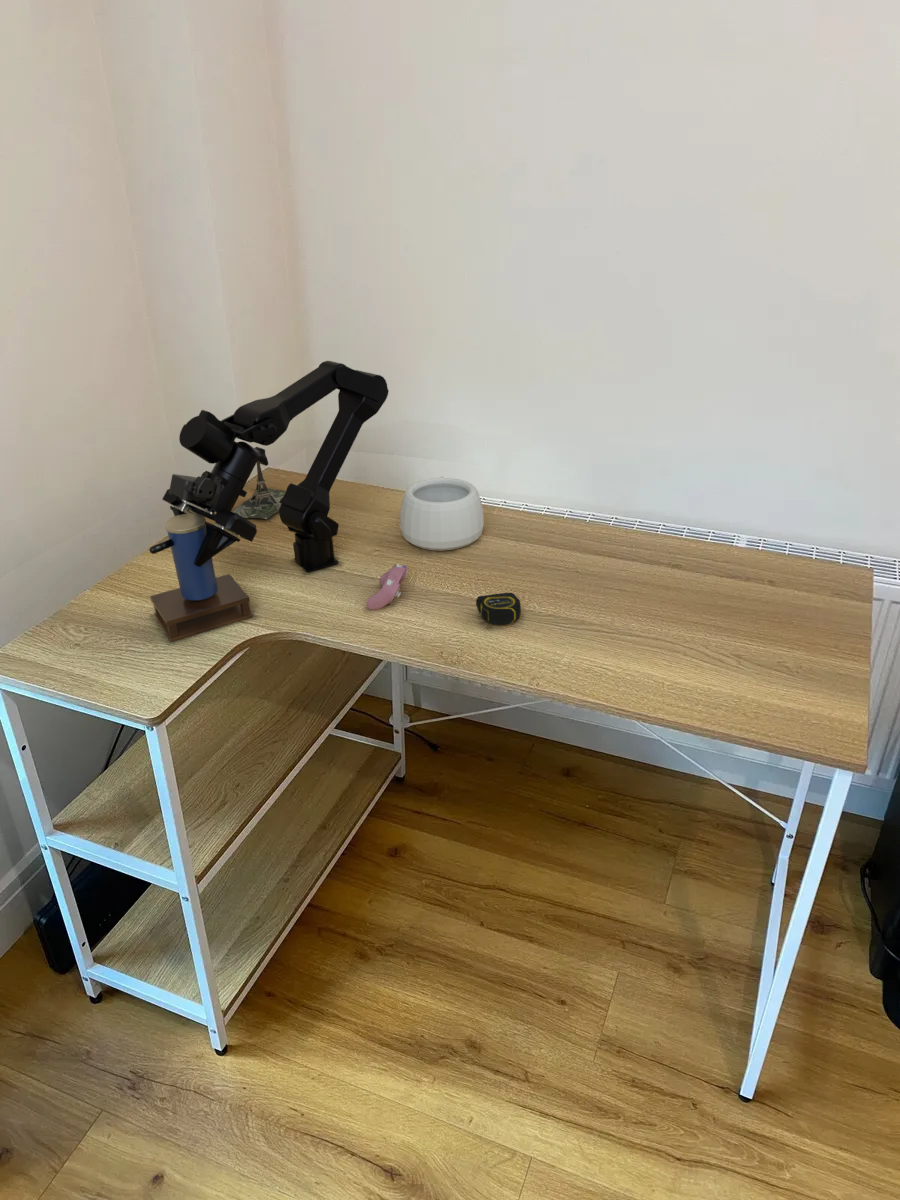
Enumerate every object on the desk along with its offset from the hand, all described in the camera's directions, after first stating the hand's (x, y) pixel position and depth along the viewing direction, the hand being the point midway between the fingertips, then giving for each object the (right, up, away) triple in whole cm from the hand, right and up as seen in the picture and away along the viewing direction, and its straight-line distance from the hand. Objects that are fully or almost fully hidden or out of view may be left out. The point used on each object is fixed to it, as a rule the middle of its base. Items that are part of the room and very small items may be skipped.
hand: (185, 559), depth 141 cm
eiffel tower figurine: (+3, +14, +47) cm, 49 cm away
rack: (+1, -9, +7) cm, 12 cm away
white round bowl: (+42, +7, +34) cm, 54 cm away
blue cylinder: (0, -6, +3) cm, 7 cm away
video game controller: (+33, -6, +11) cm, 35 cm away
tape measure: (+51, -10, +4) cm, 52 cm away
